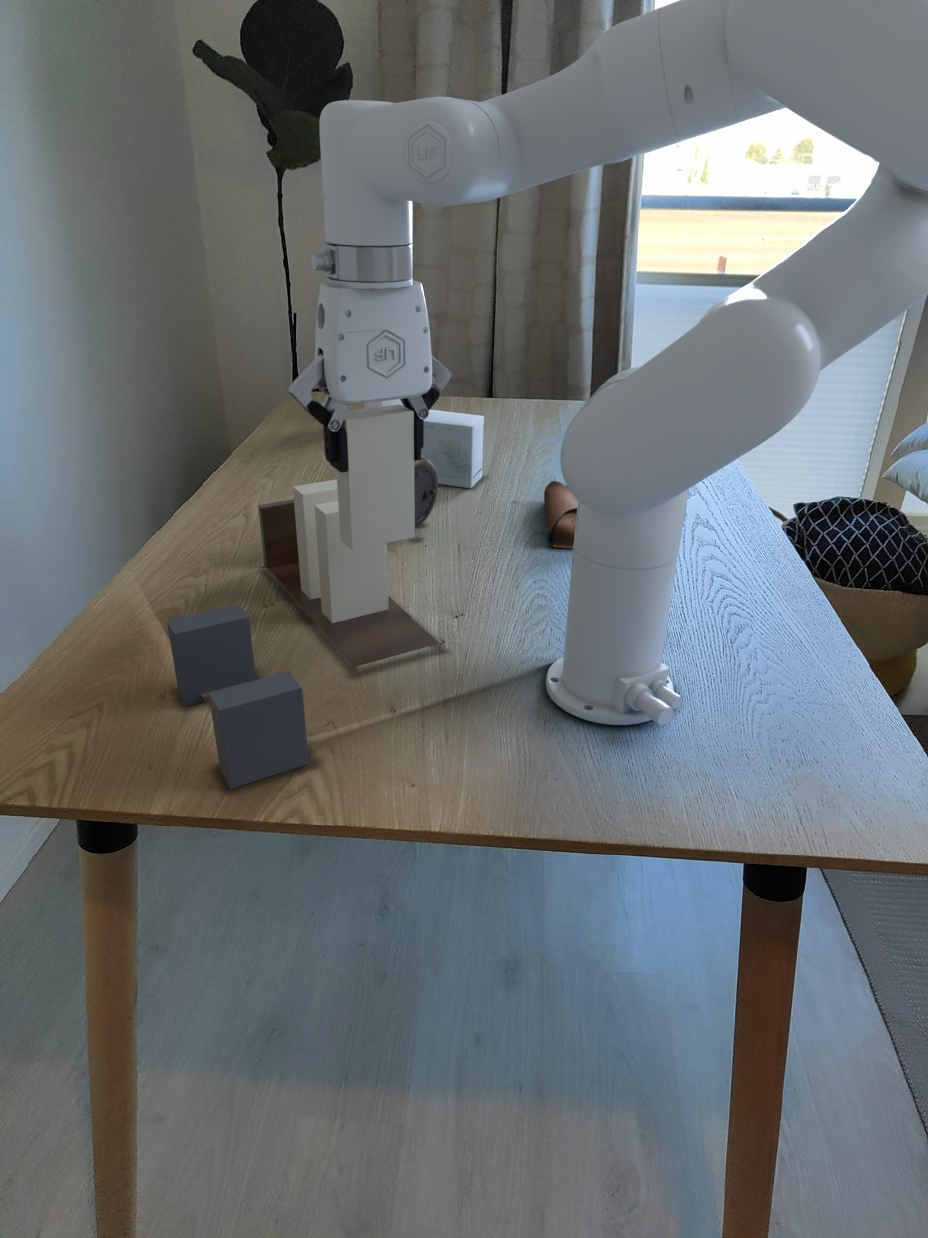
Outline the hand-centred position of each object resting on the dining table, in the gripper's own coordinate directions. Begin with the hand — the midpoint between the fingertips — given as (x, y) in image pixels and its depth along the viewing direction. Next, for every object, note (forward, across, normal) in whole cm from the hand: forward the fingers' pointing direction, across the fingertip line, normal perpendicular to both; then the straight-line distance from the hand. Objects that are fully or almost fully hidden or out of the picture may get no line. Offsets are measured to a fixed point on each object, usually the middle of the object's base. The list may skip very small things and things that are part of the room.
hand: (375, 461), depth 83 cm
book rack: (+21, 0, +10) cm, 23 cm away
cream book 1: (+20, 0, +13) cm, 24 cm away
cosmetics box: (+21, +33, +44) cm, 59 cm away
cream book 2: (+8, 0, 0) cm, 8 cm away
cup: (+21, +40, +80) cm, 92 cm away
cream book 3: (+20, 0, +7) cm, 21 cm away
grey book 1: (+21, -18, 0) cm, 27 cm away
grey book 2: (+21, -18, -14) cm, 31 cm away
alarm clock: (+21, +16, +26) cm, 37 cm away
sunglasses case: (+21, +40, +18) cm, 48 cm away
